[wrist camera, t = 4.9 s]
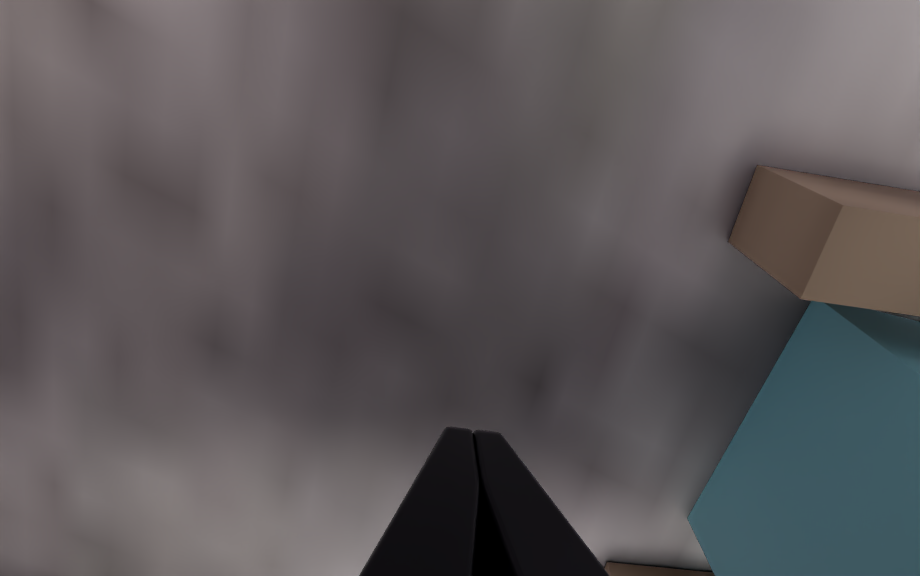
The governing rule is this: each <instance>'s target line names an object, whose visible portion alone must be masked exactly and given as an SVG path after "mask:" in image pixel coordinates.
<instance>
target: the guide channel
mask: <svg viewBox="0 0 920 576" xmlns="http://www.w3.org/2000/svg"><path fill="white" fill-rule="evenodd" d="M728 242H729V243H730V244H731V245H733V246H734V247H735V248H736V249H738V250H739V251H740V252H741V253H743V254H744V255H745V256H746V257H748V258H749V259H750V260H752V261H753V262H754V263H755V264H757V265H758V266H759V267H760V268H762V269H763V270H764V271H765V272H767V273H768V274H769V275H771V276H772V277H773V278H774V279H776V280H777V281H778V282H779V283H781V284H782V285H783V286H784V287H786V288H787V289H788V290H790V291H791V292H792V293H793V294H795V295H796V296H797V297H798V298H800V299H803V300H810V301H817V302H824V303H831V304H838V305H844V306H851V307H858V308H865V309H872V310H879V311H886V312H893V313H900V314H907V315H914V316H920V192H918V191H912V190H906V189H900V188H894V187H888V186H882V185H876V184H870V183H864V182H858V181H852V180H846V179H839V178H833V177H827V176H821V175H815V174H809V173H803V172H797V171H791V170H785V169H779V168H773V167H767V166H761V165H757V167H756V170H755V172H754V175H753V177H752V180H751V183H750V185H749V188H748V191H747V193H746V196H745V199H744V201H743V204H742V207H741V209H740V212H739V214H738V217H737V220H736V222H735V225H734V228H733V230H732V233H731V236H730V238H729V241H728ZM604 569H605V570H606V571H607V573H608V574H609V575H610V576H715V575H714V573H712V572H702V571H692V570H682V569H672V568H662V567H652V566H642V565H631V564H621V563H611V562H607V563H606V566H605V568H604Z"/></svg>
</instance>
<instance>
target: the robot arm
mask: <svg viewBox="0 0 920 576" xmlns="http://www.w3.org/2000/svg"><path fill="white" fill-rule="evenodd" d="M359 576H610V575H609V574H608V573H607V571H606V570H605V569H604V568H603V566H602V565H601V564H600V562H599V561H598V560H597V558H596V557H595V556H594V555H593V553H592V552H591V551H590V549H589V548H588V547H587V545H586V544H585V543H584V541H583V540H582V539H581V538H580V536H579V535H578V534H577V532H576V531H575V530H574V528H573V527H572V526H571V525H570V523H569V522H568V521H567V519H566V518H565V517H564V515H563V514H562V513H561V511H560V510H559V509H558V508H557V506H556V505H555V504H554V502H553V501H552V500H551V498H550V497H549V496H548V495H547V493H546V492H545V491H544V489H543V488H542V487H541V485H540V484H539V483H538V482H537V480H536V479H535V478H534V476H533V475H532V474H531V472H530V471H529V470H528V468H527V467H526V466H525V465H524V463H523V462H522V461H521V459H520V458H519V457H518V455H517V454H516V453H515V452H514V450H513V449H512V448H511V446H510V445H509V444H508V442H507V441H506V440H505V438H504V437H503V436H502V435H501V434H500V433H498V432H492V431H483V430H475V431H474V432H473V433H472V431H471V430H470V429H466V428H458V427H446V428H445V429H444V431H443V432H442V434H441V436H440V438H439V439H438V441H437V443H436V444H435V446H434V448H433V450H432V451H431V453H430V455H429V456H428V458H427V460H426V462H425V463H424V465H423V467H422V469H421V470H420V472H419V474H418V475H417V477H416V479H415V481H414V482H413V484H412V486H411V487H410V489H409V491H408V493H407V494H406V496H405V498H404V499H403V501H402V503H401V505H400V506H399V508H398V510H397V511H396V513H395V515H394V517H393V518H392V520H391V522H390V523H389V525H388V527H387V529H386V530H385V532H384V534H383V536H382V537H381V539H380V541H379V542H378V544H377V546H376V548H375V549H374V551H373V553H372V554H371V556H370V558H369V560H368V561H367V563H366V565H365V566H364V568H363V570H362V572H361V573H360V575H359Z"/></svg>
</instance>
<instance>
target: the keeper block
mask: <svg viewBox="0 0 920 576" xmlns="http://www.w3.org/2000/svg"><path fill="white" fill-rule="evenodd" d="M687 519H688V521H689V523H690V525H691V527H692V529H693V531H694V533H695V535H696V537H697V540H698V542H699V544H700V546H701V548H702V550H703V552H704V554H705V556H706V558H707V560H708V562H709V564H710V566H711V569H712V571H713V573H714V575H715V576H920V321H916V320H912V319H908V318H904V317H899V316H895V315H891V314H887V313H883V312H879V311H875V310H871V309H865V308H858V307H851V306H844V305H838V304H831V303H824V302H817V301H811V303H810V304H809V306H808V308H807V310H806V311H805V313H804V315H803V317H802V318H801V320H800V322H799V324H798V325H797V327H796V329H795V331H794V332H793V334H792V336H791V338H790V339H789V341H788V343H787V344H786V346H785V348H784V350H783V351H782V353H781V355H780V357H779V358H778V360H777V362H776V364H775V365H774V367H773V369H772V371H771V372H770V374H769V376H768V378H767V379H766V381H765V383H764V385H763V386H762V388H761V390H760V392H759V393H758V395H757V397H756V399H755V400H754V402H753V404H752V406H751V407H750V409H749V411H748V413H747V414H746V416H745V418H744V420H743V421H742V423H741V425H740V427H739V428H738V430H737V432H736V434H735V435H734V437H733V439H732V441H731V442H730V444H729V446H728V448H727V449H726V451H725V453H724V455H723V456H722V458H721V460H720V462H719V463H718V465H717V467H716V469H715V470H714V472H713V474H712V476H711V477H710V479H709V481H708V483H707V484H706V486H705V488H704V490H703V491H702V493H701V495H700V497H699V498H698V500H697V502H696V504H695V505H694V507H693V509H692V511H691V512H690V514H689V516H688V518H687Z"/></svg>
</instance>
